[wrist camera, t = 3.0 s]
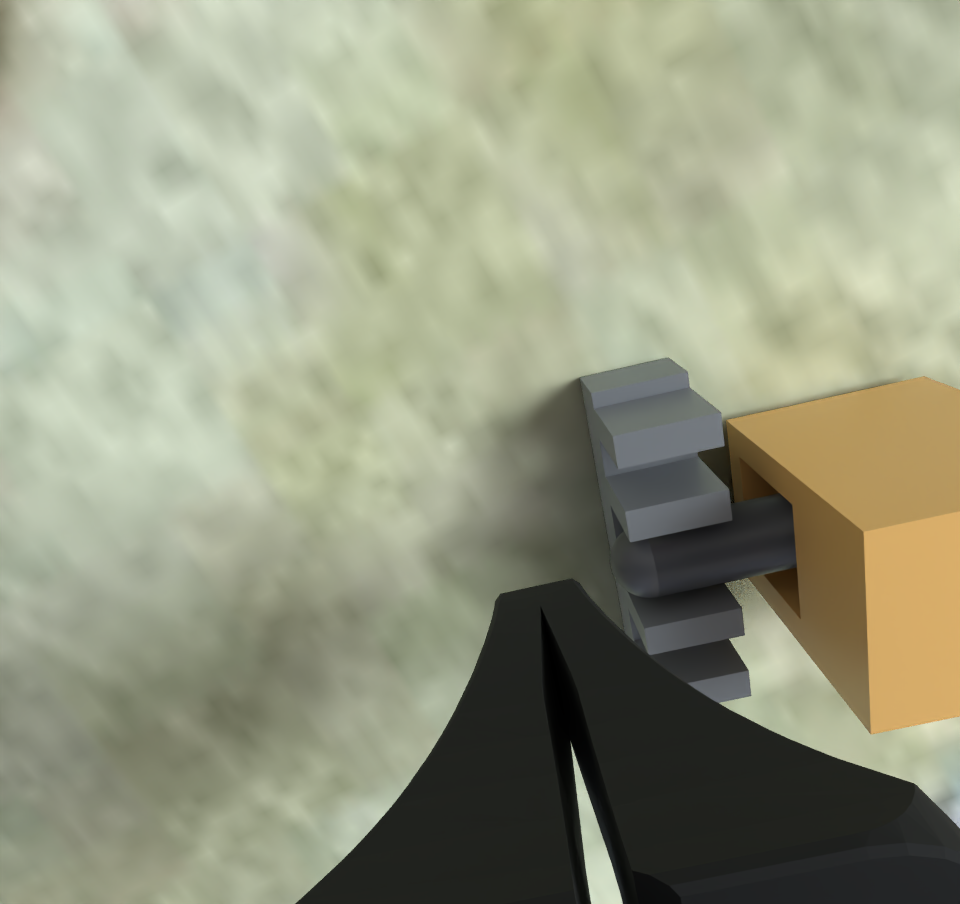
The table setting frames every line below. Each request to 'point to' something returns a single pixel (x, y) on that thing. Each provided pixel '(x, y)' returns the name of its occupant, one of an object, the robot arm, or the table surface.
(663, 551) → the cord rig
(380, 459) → the table surface
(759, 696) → the table surface
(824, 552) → the sleeve
